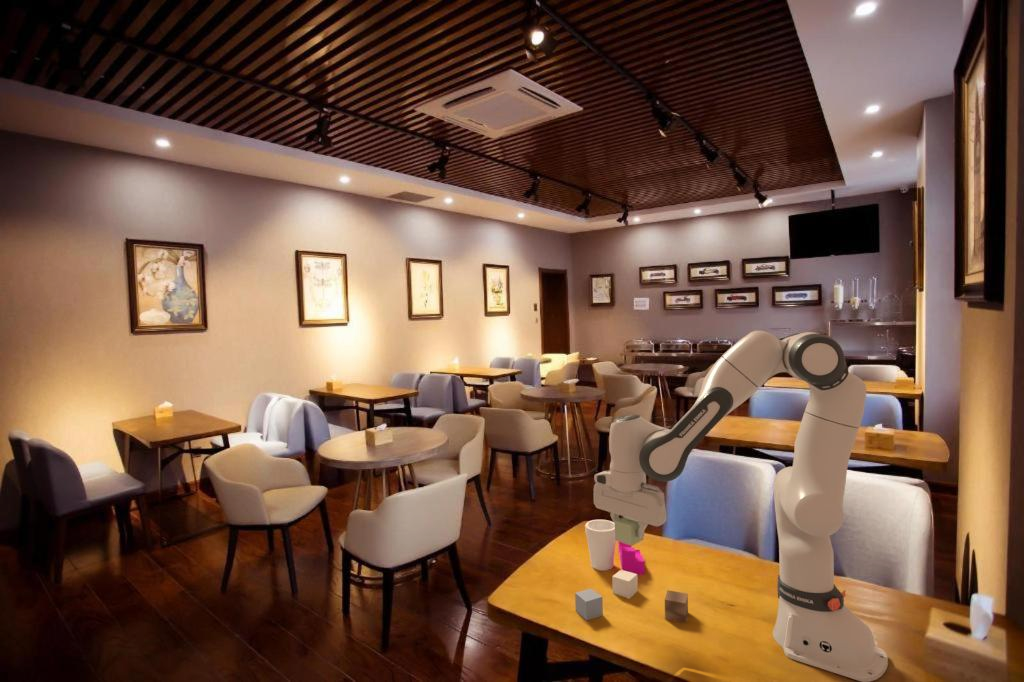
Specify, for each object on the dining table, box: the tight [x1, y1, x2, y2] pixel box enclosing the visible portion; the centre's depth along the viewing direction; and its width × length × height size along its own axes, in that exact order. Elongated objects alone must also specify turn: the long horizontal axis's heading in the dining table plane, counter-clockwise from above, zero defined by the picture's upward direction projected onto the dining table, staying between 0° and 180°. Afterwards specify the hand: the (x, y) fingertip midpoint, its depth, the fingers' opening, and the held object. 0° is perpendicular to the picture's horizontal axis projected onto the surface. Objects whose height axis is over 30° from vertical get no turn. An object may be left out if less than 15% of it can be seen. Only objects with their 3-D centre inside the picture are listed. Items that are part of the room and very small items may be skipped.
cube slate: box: [574, 588, 604, 621], centre depth 139 cm, size 5×5×5 cm
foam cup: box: [584, 519, 617, 572], centre depth 164 cm, size 10×9×13 cm
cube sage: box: [615, 516, 645, 547], centre depth 137 cm, size 5×5×5 cm
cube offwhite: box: [611, 569, 639, 600], centre depth 149 cm, size 5×5×5 cm
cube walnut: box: [664, 589, 689, 624], centre depth 137 cm, size 5×5×5 cm
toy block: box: [617, 541, 645, 576], centre depth 166 cm, size 15×6×8 cm, turn 173°
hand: (629, 533), depth 137 cm, fingers closed on cube sage, 5 cm apart
